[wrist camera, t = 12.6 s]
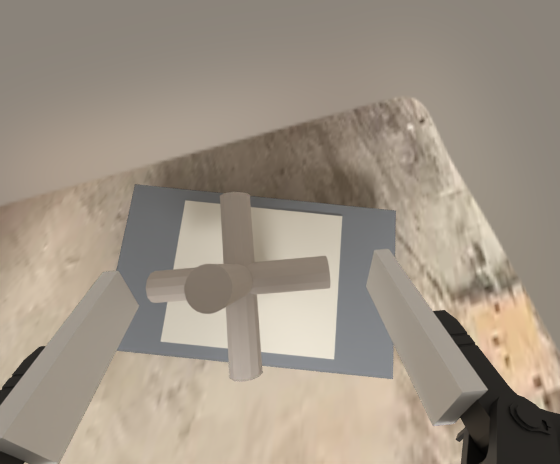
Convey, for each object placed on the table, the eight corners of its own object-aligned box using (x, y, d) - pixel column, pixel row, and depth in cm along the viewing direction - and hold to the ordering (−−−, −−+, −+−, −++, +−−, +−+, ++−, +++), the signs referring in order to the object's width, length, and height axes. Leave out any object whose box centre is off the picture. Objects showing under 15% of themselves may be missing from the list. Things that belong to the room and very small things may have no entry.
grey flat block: (131, 335, 22) (97, 349, 18) (158, 198, 24) (133, 183, 20) (371, 360, 22) (394, 380, 18) (376, 221, 24) (396, 210, 20)
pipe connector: (190, 220, 20) (84, 174, 10) (312, 207, 19) (328, 145, 9) (195, 348, 18) (75, 446, 8) (326, 339, 18) (364, 432, 8)
